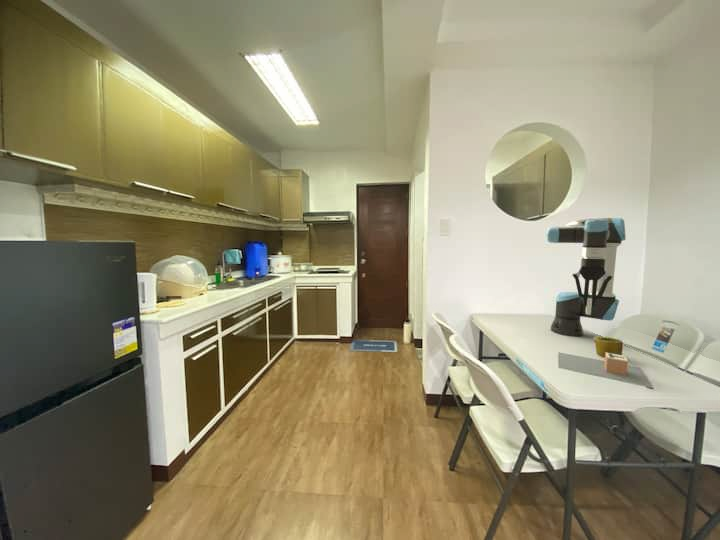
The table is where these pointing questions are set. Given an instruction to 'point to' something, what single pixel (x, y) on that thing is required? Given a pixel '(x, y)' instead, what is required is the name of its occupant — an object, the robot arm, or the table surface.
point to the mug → (608, 346)
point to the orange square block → (616, 364)
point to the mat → (601, 369)
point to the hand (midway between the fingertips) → (588, 313)
